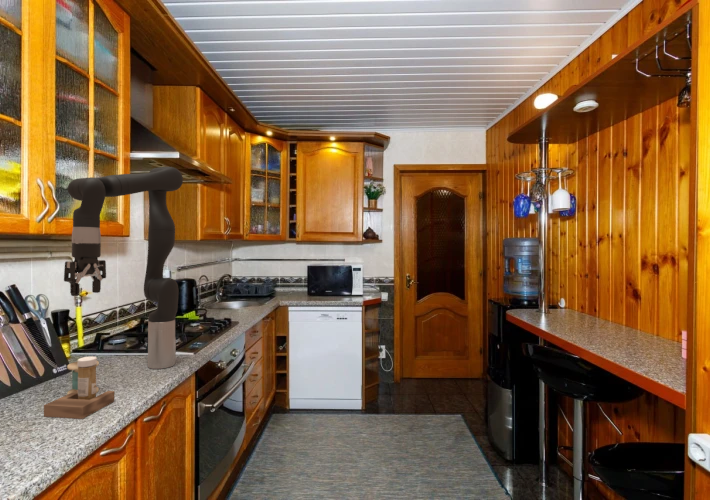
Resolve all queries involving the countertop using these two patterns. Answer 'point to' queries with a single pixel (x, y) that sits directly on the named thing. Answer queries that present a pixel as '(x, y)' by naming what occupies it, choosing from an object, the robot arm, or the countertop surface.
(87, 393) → the sprinkles bottle
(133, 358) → the countertop surface
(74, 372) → the bobbin
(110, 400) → the c-shaped block
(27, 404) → the countertop surface
